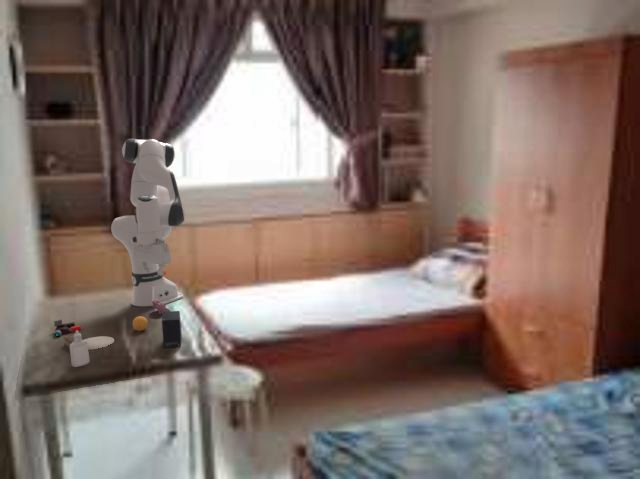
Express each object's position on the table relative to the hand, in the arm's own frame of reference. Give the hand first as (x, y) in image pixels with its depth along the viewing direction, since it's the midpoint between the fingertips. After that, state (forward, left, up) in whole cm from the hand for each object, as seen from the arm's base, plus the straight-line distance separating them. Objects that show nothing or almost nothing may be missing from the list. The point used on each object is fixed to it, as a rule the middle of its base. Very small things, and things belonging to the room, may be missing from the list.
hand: (153, 273), depth 241 cm
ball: (+7, -2, -19) cm, 20 cm away
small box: (+5, +19, -22) cm, 30 cm away
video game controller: (-10, -16, -22) cm, 28 cm away
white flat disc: (+25, -2, -22) cm, 33 cm away
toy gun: (+27, -22, -22) cm, 41 cm away
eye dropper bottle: (+37, +14, -22) cm, 45 cm away
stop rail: (+32, -2, -22) cm, 38 cm away
